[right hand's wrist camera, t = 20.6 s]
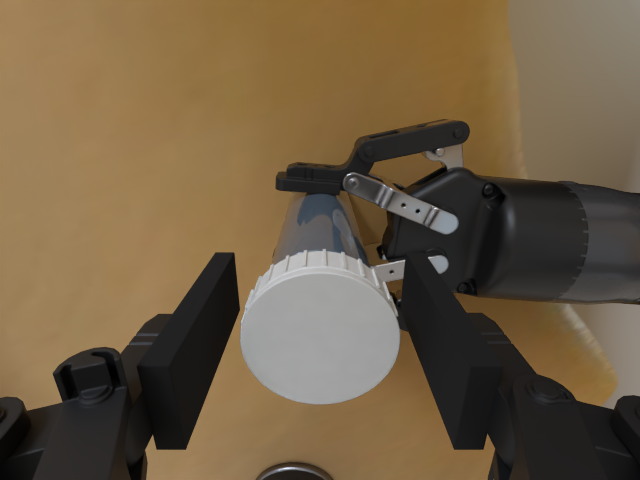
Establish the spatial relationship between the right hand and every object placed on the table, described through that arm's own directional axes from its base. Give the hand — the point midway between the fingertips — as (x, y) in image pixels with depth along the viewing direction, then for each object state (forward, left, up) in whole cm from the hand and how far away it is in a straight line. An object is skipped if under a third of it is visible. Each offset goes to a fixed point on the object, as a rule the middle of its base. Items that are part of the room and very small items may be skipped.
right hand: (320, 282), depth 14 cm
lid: (0, 0, +4) cm, 4 cm away
